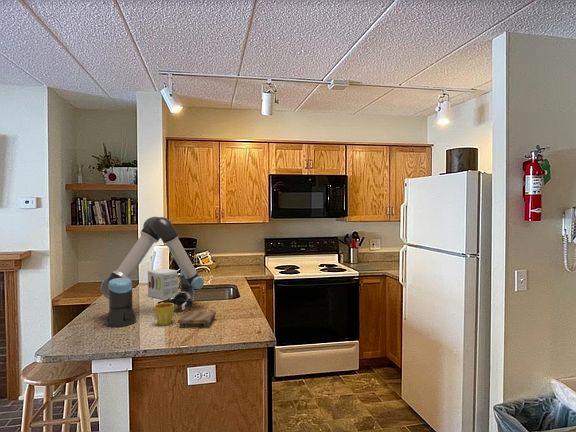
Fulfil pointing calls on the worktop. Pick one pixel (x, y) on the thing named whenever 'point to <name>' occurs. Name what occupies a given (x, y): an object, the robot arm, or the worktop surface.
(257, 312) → the worktop surface
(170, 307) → the plant pot
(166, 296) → the supplement box
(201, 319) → the walnut stand
